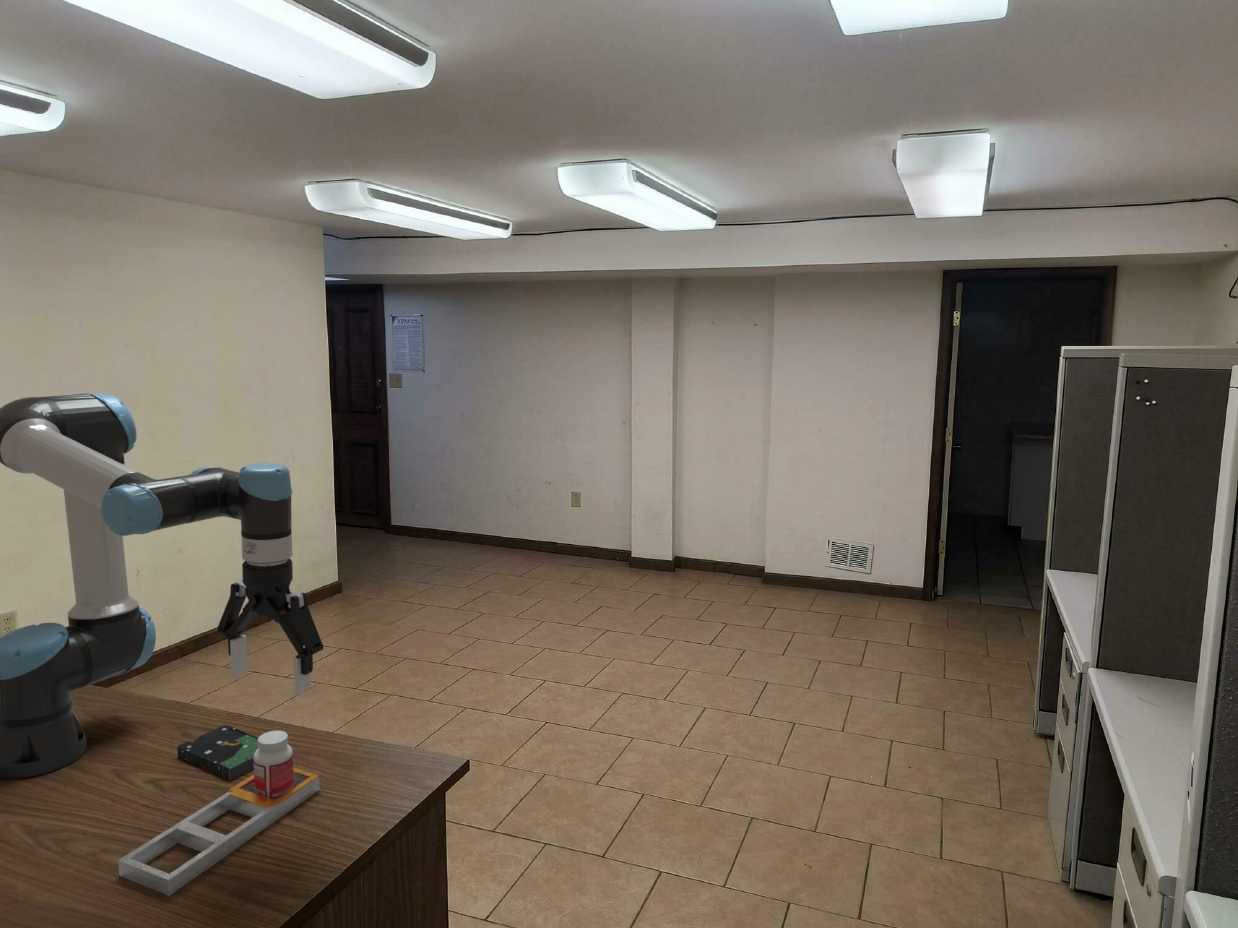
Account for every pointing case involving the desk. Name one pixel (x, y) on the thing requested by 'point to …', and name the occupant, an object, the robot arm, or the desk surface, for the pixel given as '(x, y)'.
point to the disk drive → (222, 751)
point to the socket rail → (213, 832)
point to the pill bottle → (273, 765)
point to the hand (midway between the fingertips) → (270, 682)
